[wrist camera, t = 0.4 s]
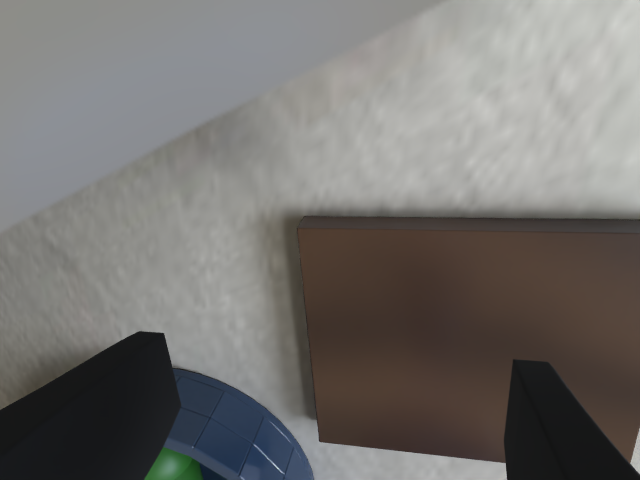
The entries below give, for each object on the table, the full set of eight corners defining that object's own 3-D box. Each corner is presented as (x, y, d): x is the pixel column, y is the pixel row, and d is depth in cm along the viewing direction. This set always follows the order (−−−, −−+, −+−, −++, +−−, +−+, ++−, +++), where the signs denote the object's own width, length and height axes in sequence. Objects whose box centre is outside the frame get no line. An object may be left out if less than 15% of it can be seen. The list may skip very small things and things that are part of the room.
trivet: (617, 454, 21) (627, 477, 20) (324, 423, 24) (319, 442, 23) (674, 219, 17) (690, 234, 16) (304, 215, 20) (296, 228, 19)
